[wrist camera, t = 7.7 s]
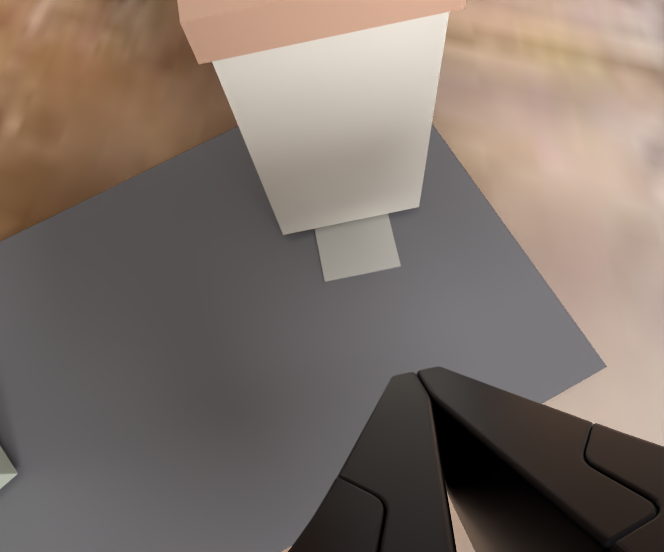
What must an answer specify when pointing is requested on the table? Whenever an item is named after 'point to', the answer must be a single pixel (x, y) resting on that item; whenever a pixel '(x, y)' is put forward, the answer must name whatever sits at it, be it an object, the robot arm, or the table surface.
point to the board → (241, 349)
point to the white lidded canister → (328, 97)
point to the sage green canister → (6, 469)
